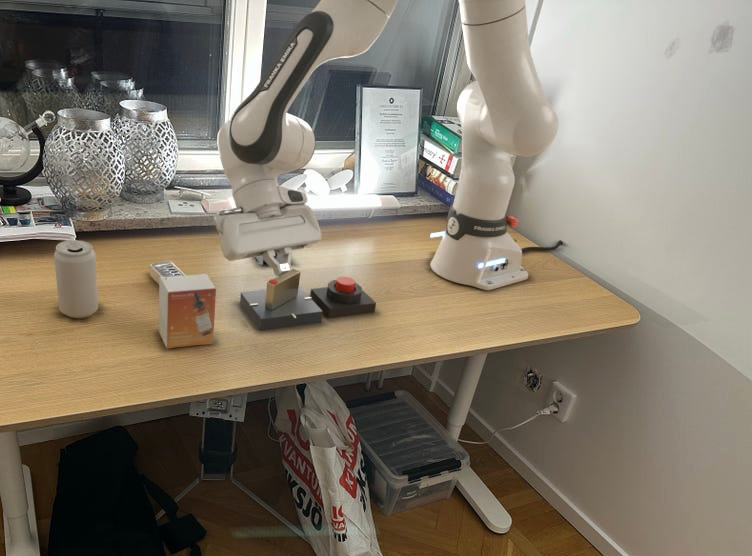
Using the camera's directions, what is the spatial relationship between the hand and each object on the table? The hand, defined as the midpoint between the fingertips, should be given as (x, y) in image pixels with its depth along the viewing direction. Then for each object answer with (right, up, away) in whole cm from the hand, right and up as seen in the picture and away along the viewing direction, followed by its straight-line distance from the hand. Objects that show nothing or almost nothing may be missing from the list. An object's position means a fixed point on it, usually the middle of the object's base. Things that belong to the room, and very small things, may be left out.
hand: (284, 274), depth 121 cm
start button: (+11, -2, +3) cm, 12 cm away
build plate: (-4, +7, +21) cm, 23 cm away
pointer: (0, -5, -2) cm, 5 cm away
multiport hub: (-22, -2, +4) cm, 22 cm away
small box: (-16, -12, -11) cm, 23 cm away
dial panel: (-1, -7, 0) cm, 7 cm away
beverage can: (-35, -8, -8) cm, 37 cm away
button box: (+11, -5, +5) cm, 13 cm away
